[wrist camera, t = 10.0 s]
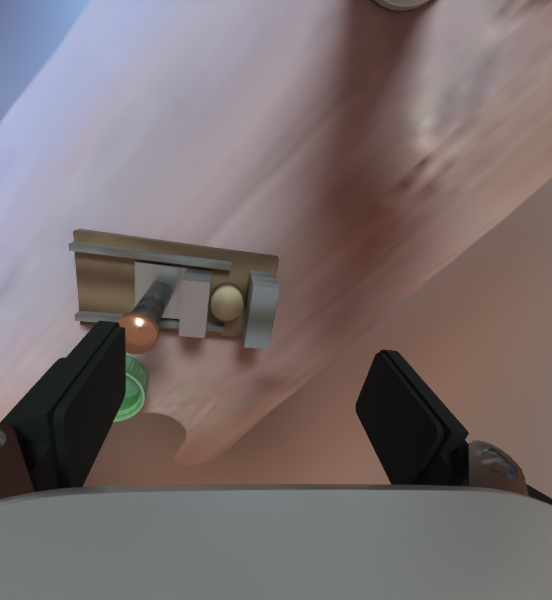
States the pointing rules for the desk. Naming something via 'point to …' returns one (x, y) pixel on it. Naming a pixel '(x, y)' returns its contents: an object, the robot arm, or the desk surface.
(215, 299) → the beige rounded dome
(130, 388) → the ramekin
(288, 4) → the desk surface
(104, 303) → the press frame
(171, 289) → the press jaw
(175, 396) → the desk surface
